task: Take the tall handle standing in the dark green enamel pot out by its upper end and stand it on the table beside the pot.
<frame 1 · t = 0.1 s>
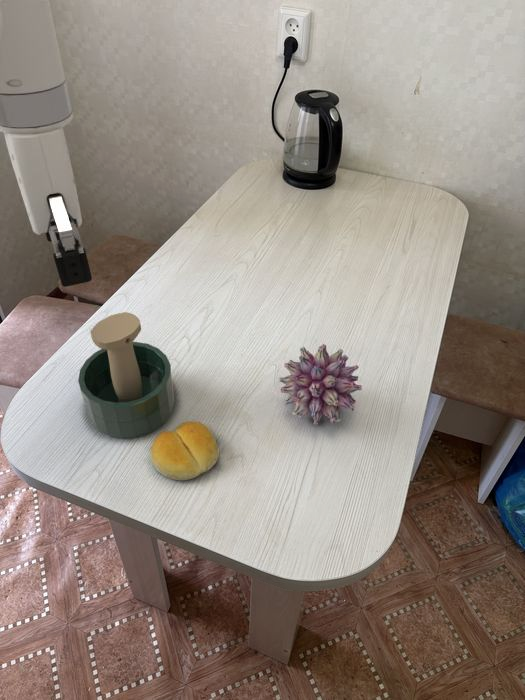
hand: (68, 259, 58), 25 cm above the table, tool pointing down, fingers open, 9 cm apart
pot: (132, 404, 76), on the table
flower: (315, 410, 77), on the table
bread roll: (186, 455, 70), on the table
handle: (131, 403, 76), resting on pot
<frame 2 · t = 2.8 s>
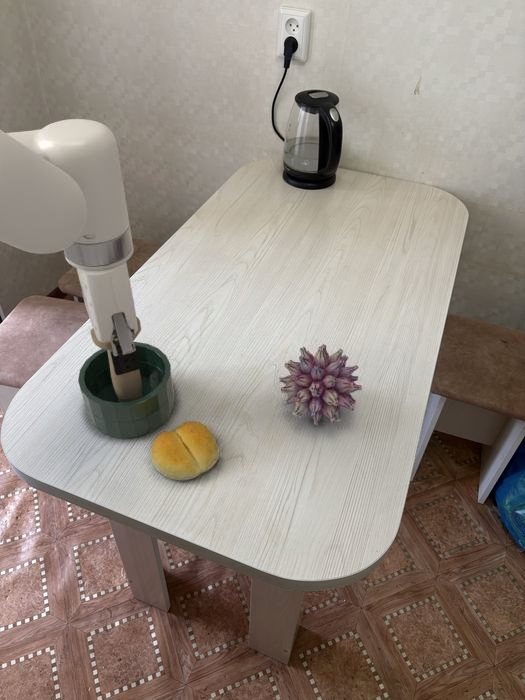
hand: (121, 355, 69), 10 cm above the table, tool pointing down, fingers closed on handle, 5 cm apart
handle: (131, 403, 76), resting on pot, touching gripper
everything else where it was.
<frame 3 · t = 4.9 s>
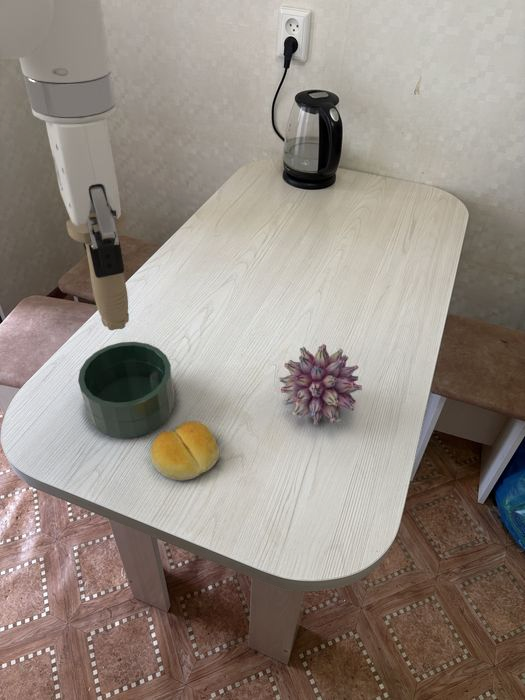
hand: (103, 259, 59), 25 cm above the table, tool pointing down, fingers closed on handle, 5 cm apart
handle: (116, 324, 66), point 15 cm above the table, touching gripper
everything else where it was.
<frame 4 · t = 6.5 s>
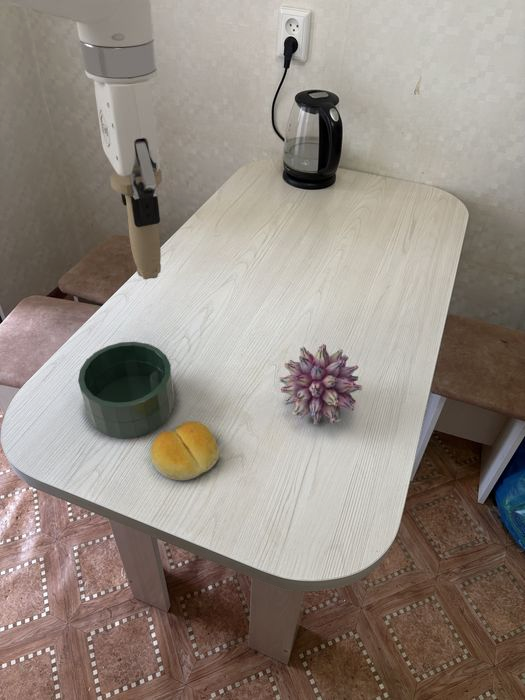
hand: (140, 212, 66), 26 cm above the table, tool pointing down, fingers closed on handle, 5 cm apart
handle: (149, 275, 73), point 16 cm above the table, touching gripper
everything else where it was.
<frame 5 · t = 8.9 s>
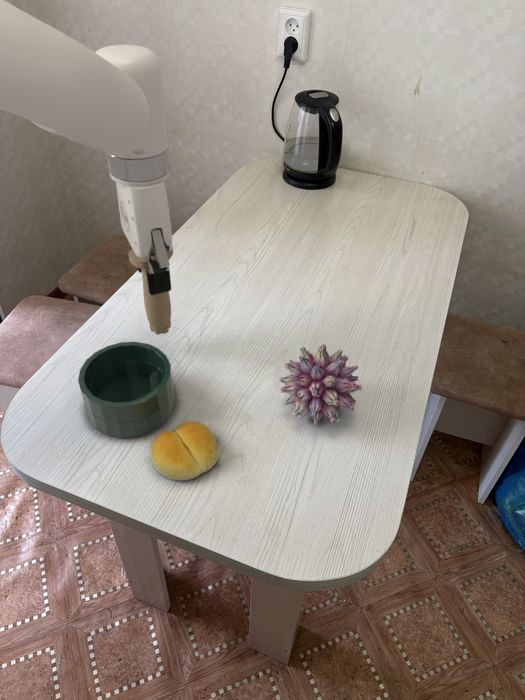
hand: (154, 279, 75), 14 cm above the table, tool pointing down, fingers closed on handle, 5 cm apart
handle: (161, 330, 82), point 4 cm above the table, touching gripper
everything else where it was.
when the fingers open (10 cm above the table, at t = 10.4 s): handle stays where it is, on the table.
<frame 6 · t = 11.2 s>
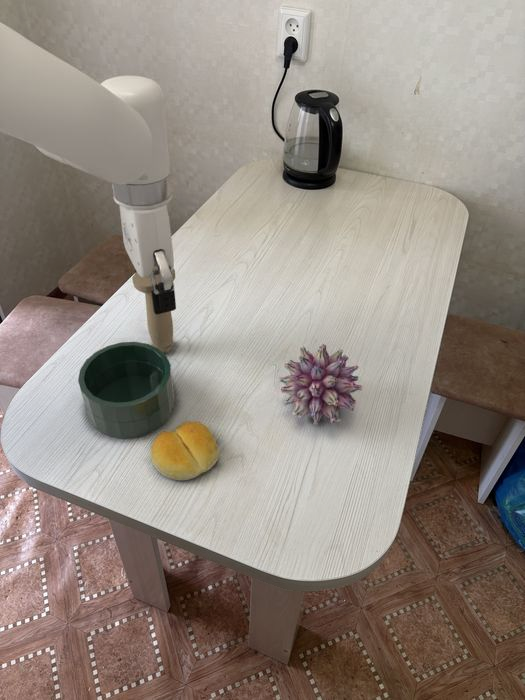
hand: (155, 292, 77), 12 cm above the table, tool pointing down, fingers open, 9 cm apart
handle: (163, 348, 85), on the table
everything else where it was.
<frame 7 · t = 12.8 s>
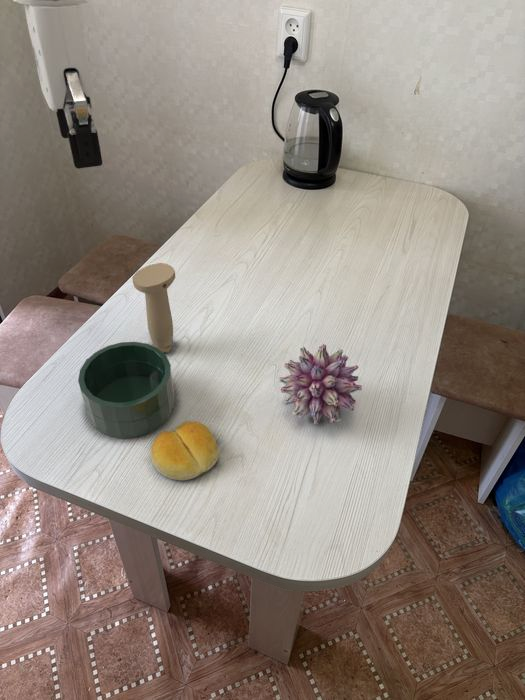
hand: (81, 150, 63), 33 cm above the table, tool pointing down, fingers open, 9 cm apart
nothing on the table moved.
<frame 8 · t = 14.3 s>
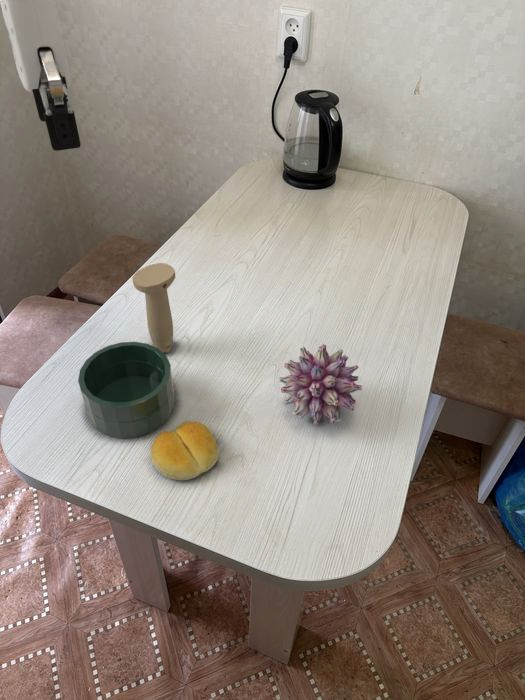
hand: (59, 133, 62), 34 cm above the table, tool pointing down, fingers open, 9 cm apart
nothing on the table moved.
at the end: handle inside the target area (0.1 cm from its centre), on the table; handle tilted 0°; the gripper is holding nothing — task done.
